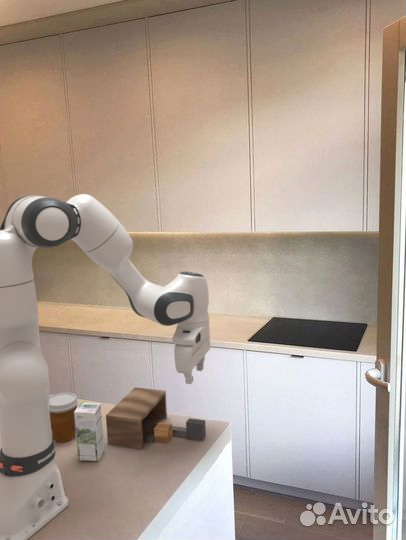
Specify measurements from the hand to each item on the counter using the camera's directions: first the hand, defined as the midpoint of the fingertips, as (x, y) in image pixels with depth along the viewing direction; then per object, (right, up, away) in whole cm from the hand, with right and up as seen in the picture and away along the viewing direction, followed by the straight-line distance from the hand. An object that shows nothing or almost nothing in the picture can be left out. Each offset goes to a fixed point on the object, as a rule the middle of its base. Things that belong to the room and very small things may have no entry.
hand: (194, 376), depth 138 cm
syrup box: (-28, -21, -4) cm, 35 cm away
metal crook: (-5, -19, +3) cm, 20 cm away
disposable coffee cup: (-38, -19, +6) cm, 43 cm away
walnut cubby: (-17, -18, +9) cm, 26 cm away
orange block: (-9, -19, +3) cm, 21 cm away
